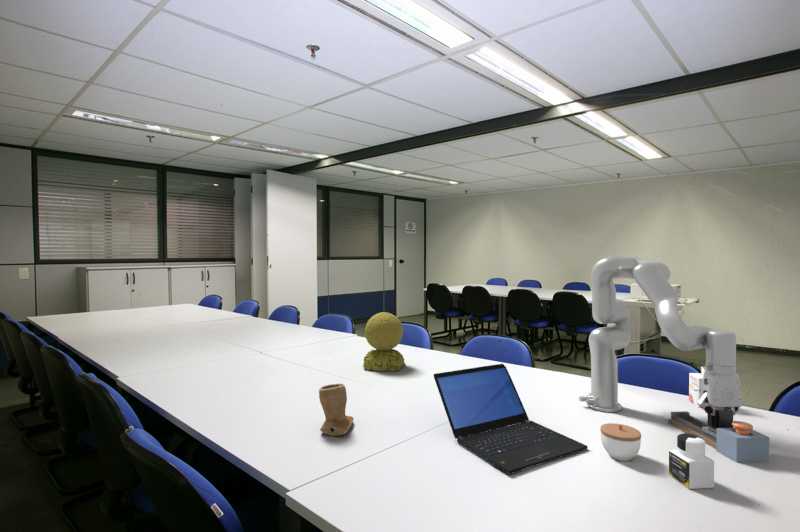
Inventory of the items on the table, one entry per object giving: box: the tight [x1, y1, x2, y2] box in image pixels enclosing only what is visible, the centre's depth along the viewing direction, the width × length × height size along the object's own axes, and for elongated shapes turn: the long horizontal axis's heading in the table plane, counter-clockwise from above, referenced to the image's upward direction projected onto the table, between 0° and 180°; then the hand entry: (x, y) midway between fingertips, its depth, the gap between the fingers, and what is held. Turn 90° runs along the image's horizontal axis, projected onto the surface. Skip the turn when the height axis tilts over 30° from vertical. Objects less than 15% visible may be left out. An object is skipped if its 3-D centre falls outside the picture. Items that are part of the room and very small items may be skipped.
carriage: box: [702, 407, 734, 438], centre depth 130 cm, size 7×6×10 cm
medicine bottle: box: [668, 432, 715, 490], centre depth 108 cm, size 7×7×12 cm
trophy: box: [362, 311, 405, 372], centre depth 227 cm, size 22×22×30 cm
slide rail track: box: [667, 410, 716, 450], centre depth 137 cm, size 8×22×4 cm, turn 3°
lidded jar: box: [600, 422, 642, 462], centre depth 123 cm, size 11×11×9 cm
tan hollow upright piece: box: [318, 383, 354, 437], centre depth 143 cm, size 15×12×15 cm
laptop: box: [433, 363, 589, 475], centre depth 135 cm, size 33×38×19 cm
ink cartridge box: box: [688, 366, 707, 409], centre depth 166 cm, size 9×5×15 cm, turn 168°
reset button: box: [732, 420, 754, 436], centre depth 123 cm, size 5×5×4 cm
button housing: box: [715, 427, 770, 463], centre depth 123 cm, size 10×7×7 cm
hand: (720, 426), depth 130 cm, fingers closed on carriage, 4 cm apart
